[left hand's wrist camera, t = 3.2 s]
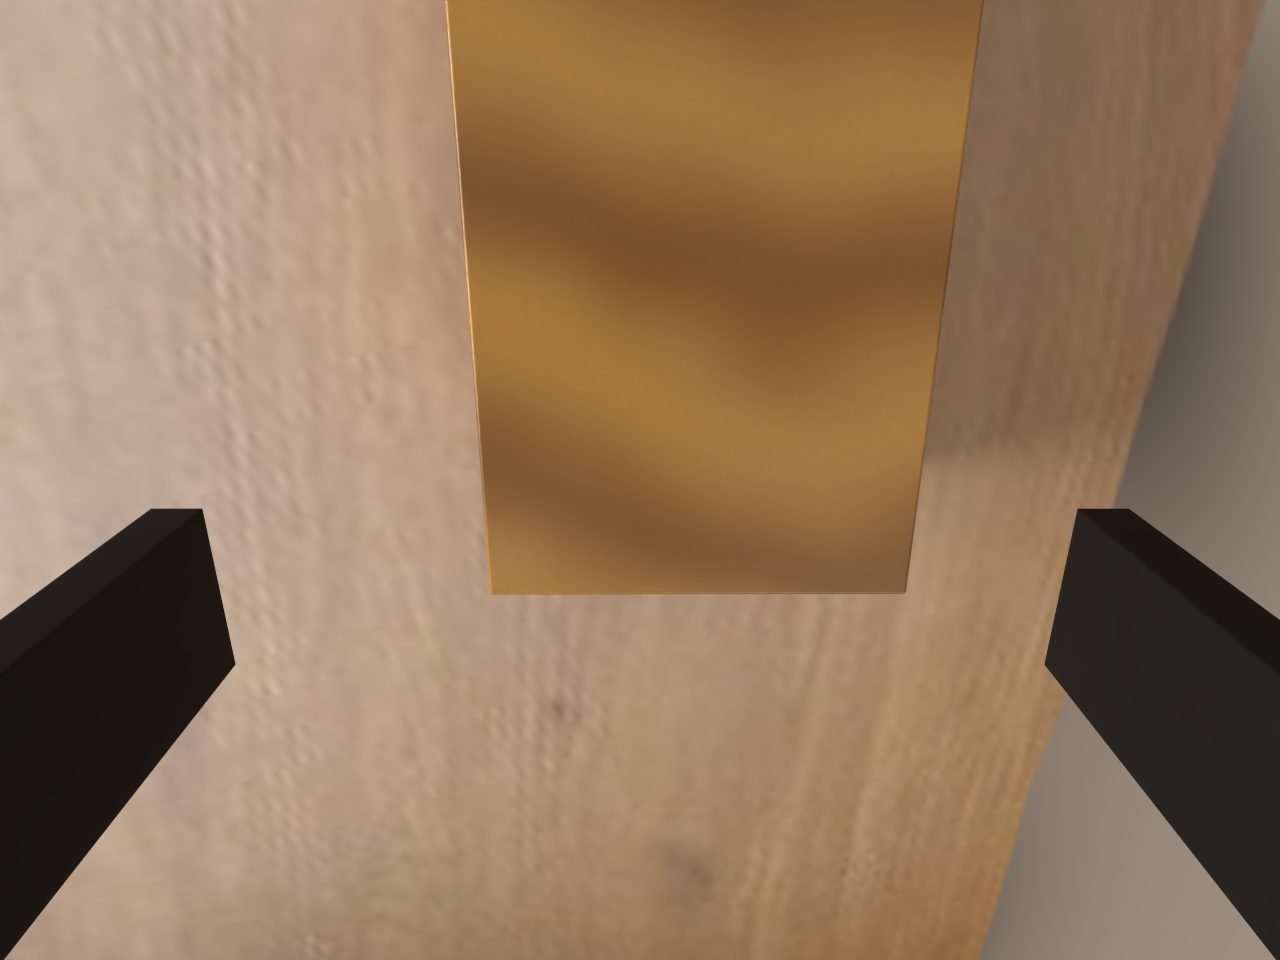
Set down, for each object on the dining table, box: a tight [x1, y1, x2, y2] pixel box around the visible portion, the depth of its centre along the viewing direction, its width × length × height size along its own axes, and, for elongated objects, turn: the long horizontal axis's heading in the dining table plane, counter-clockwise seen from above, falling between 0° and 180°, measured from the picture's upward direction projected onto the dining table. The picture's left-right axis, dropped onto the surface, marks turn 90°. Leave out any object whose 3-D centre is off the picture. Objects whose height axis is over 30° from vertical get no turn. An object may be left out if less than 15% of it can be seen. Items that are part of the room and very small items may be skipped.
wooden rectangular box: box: [445, 0, 984, 594], centre depth 23 cm, size 19×11×9 cm, turn 0°
